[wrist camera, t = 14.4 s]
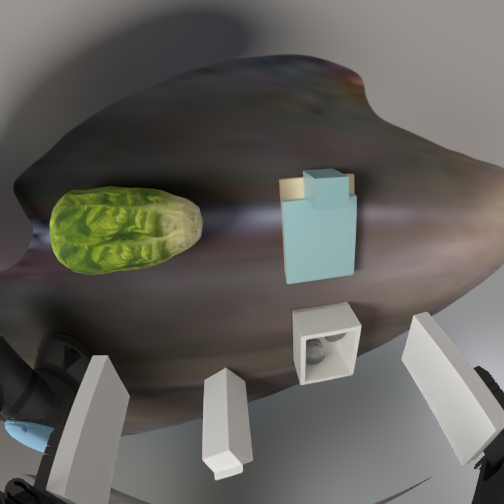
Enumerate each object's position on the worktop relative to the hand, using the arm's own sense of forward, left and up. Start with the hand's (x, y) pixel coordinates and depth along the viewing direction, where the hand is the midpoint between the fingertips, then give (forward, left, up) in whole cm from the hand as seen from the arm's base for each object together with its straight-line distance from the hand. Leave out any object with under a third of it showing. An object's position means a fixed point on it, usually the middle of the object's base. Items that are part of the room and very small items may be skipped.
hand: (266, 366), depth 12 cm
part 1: (+10, -30, -32) cm, 45 cm away
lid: (+11, -7, -32) cm, 35 cm away
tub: (+12, -28, -33) cm, 45 cm away
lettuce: (-15, -2, -33) cm, 36 cm away
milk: (-7, -38, -33) cm, 51 cm away
